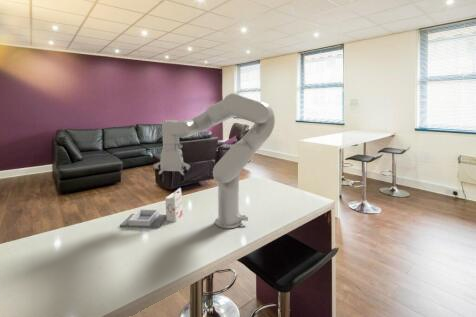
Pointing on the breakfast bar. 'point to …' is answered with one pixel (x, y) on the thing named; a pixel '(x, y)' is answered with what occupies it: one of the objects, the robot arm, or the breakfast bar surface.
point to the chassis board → (144, 219)
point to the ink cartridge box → (174, 206)
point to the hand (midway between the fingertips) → (172, 182)
